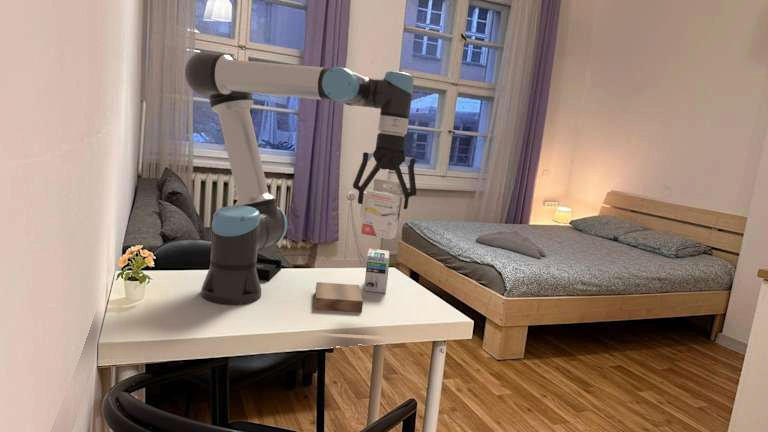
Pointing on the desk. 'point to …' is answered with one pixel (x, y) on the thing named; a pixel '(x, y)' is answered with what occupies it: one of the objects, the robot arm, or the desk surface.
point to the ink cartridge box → (382, 210)
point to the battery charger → (267, 268)
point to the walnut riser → (338, 297)
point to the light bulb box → (377, 270)
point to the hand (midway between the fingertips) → (380, 218)
